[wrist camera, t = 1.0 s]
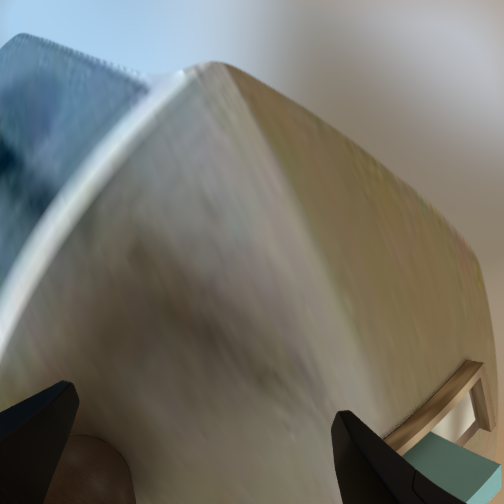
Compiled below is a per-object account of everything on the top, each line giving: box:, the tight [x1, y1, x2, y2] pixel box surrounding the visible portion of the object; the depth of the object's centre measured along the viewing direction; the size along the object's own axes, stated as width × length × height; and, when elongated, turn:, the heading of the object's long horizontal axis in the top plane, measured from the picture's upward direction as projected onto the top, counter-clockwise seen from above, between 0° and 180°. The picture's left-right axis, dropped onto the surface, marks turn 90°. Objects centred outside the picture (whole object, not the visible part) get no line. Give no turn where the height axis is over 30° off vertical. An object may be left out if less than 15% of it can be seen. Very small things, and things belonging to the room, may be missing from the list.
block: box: [402, 431, 501, 504], centre depth 18 cm, size 5×5×12 cm
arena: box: [383, 360, 496, 456], centre depth 24 cm, size 16×12×3 cm
